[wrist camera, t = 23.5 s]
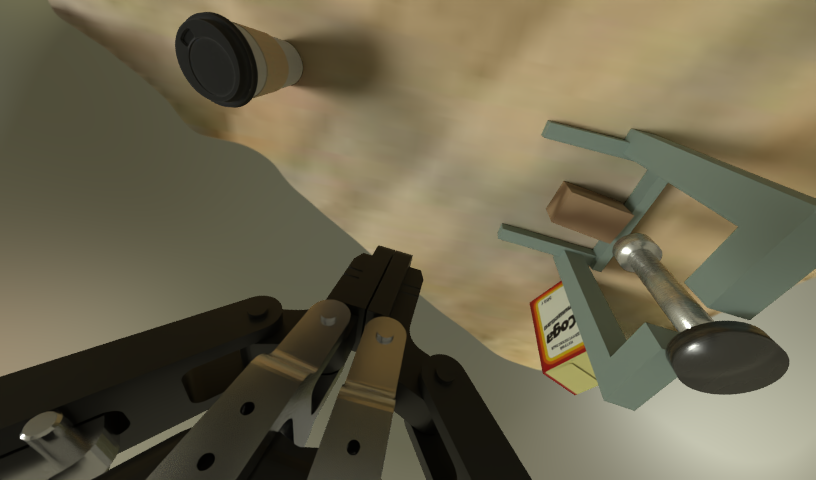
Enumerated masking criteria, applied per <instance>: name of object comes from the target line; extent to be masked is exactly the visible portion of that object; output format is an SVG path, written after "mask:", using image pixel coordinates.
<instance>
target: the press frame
mask: <svg viewBox="0 0 816 480" xmlns="http://www.w3.org/2000/svg"><path fill="white" fill-rule="evenodd" d="M542 136H543V137H544V138H547V139H551V140H555V141H559V142H562V143H566V144H570V145H574V146H578V147H582V148H585V149H589V150H593V151H597V152H601V153H604V154H608V155H612V156H616V157H620V158H624V159H627V160H631V161H635V162H637V163H638V164H640V165H641V166H643V167H644V168H646V169H648V170H647V172H646V173H645V175H644V176H643V178H642V179H641V180H640V182H639V183H638V185H637V186H636V188H635V189H634V191H633V192H632V194H631V195H630V196H629V198H628V199H627V201H626V202H625V204H624V206H625V207H626V208H627V209H628V210H629V211H630V212H631V213H632V214H633V215H634V217H633V218H632V219H631V220H630V221H629V223H628V224H627V225H626V226H625V227H624V228H623V230H622V231H621V232H620V233H619V234H618V235H617V237H616V238H615V239H614V240H613V241H612V242H611V244H609V243H606V242H603V241H601V240H599V241H598V243H597V244H596V246H595V247H594V249H593V250H592V249H589V248H585V247H582V246H578V245H575V244H572V243H568V242H565V241H561V240H558V239H554V238H551V237H548V236H544V235H541V234H537V233H534V232H530V231H527V230H523V229H520V228H517V227H513V226H510V225H506V224H503V223H502V224H501V227H500V229H499V231H498V239H501V240H505V241H508V242H511V243H515V244H518V245H522V246H525V247H528V248H532V249H535V250H538V251H542V252H545V253H549V254H552V255H554V257H553V258H554V261H555V264H556V267H557V269H558V272H559V275H560V278H561V281H562V284H563V286H564V289H565V292H566V295H567V298H568V301H569V303H570V306H571V309H572V312H573V315H574V317H575V320H576V323H577V326H578V329H579V332H580V334H581V337H582V340H583V343H584V346H585V349H586V351H587V354H588V357H589V360H590V363H591V365H592V368H593V371H594V374H595V377H596V380H597V382H598V385H599V388H600V391H601V393H602V397H603V399H604V401H607V402H610V403H613V404H616V405H619V406H622V407H625V408H628V409H631V410H634V411H635V410H636V409H637V408H639V407H640V406H641V405H643V404H644V403H645V402H646V401H648V400H649V399H650V398H651V397H652V396H654V395H655V394H656V393H658V392H659V391H660V390H661V389H663V388H664V387H665V386H667V385H668V384H669V383H671V382H672V381H673V380H674V379H676V378H677V375H676V374H675V372H674V370H673V369H672V367H671V366H670V364H669V362H668V361H667V359H666V355H665V351H666V347H667V345H668V343H669V342H670V341H671V340H672V339H673V338H674V337H675V336H676V335H677V334H679V332H676V331H672V330H669V329H666V328H663V327H659V326H656V325H653V324H650V323H646V322H645V323H644V324H643V325H642V326H641V327H640V328H639V329H638V330H637V331H636V332H635V333H634V334H633V335H632V336H631V337H630V338H629V339H628V340H626V338H625V336H624V334H623V332H622V330H621V329H620V327H619V325H618V323H617V321H616V319H615V317H614V315H613V313H612V311H611V309H610V307H609V305H608V303H607V301H606V299H605V297H604V296H603V294H602V292H601V290H600V288H599V286H598V284H597V282H596V280H595V278H594V276H593V274H592V272H591V270H590V268H589V266H590V267H591V269H593V270H596V271H599V272H602V270H603V269H604V268H605V266H606V265H607V264H608V262H609V261H610V260H611V258H612V257H613V256H614V255H613V253H612V249H613V246H614V244H615V243H616V241H617V240H619V239H620V238H622V237H623V236H626V235H628V234H630V233H631V231H632V230H633V229H634V227H635V226H636V225H637V223H638V222H639V221H640V219H641V218H642V217H643V215H644V214H645V213H646V211H647V210H648V209H649V207H650V206H651V205H652V203H653V202H654V201H655V199H656V198H657V197H658V195H659V194H660V193H661V191H662V190H663V189H664V187H665V186H666V185H667V183H670V184H671V185H673V186H675V187H676V188H678V189H679V190H681V191H683V192H684V193H686V194H687V195H689V196H690V197H692V198H694V199H695V200H697V201H698V202H700V203H702V204H703V205H705V206H706V207H708V208H710V209H711V210H713V211H714V212H716V213H717V214H719V215H721V216H722V217H724V218H725V219H727V220H729V221H730V222H732V223H733V224H735V225H737V226H738V228H737V229H736V230H735V231H734V232H733V233H732V234H731V235H730V236H729V237H728V238H727V239H726V240H725V241H724V242H723V243H722V244H721V245H720V246H719V247H718V248H717V249H716V250H715V251H714V252H713V253H712V254H711V255H710V257H709V258H708V259H707V260H706V261H705V262H704V263H703V264H702V265H701V266H700V267H699V268H698V269H697V270H696V271H695V272H694V273H693V274H692V275H691V276H690V277H689V278H688V279H687V280H686V281H685V282H684V283H685V284H686V285H687V286H688V287H689V288H690V289H691V290H692V292H693V293H694V294H695V295H696V296H697V297H698V298H699V299H700V300H701V301H702V302H703V303H704V305H705V306H706V307H707V308H710V309H714V310H717V311H721V312H724V313H727V314H731V315H734V316H737V317H741V318H744V319H747V320H751V319H752V318H753V317H754V316H756V315H757V314H758V313H760V312H761V311H762V310H763V309H765V308H766V307H767V306H768V305H770V304H771V303H772V302H774V301H775V300H776V299H777V298H779V297H780V296H781V295H782V294H784V293H785V292H786V291H788V290H789V289H790V288H791V287H793V286H794V285H795V284H796V283H798V282H799V281H800V280H802V279H803V278H804V277H805V276H807V275H808V274H809V273H810V272H812V271H813V270H814V269H816V199H815V198H813V197H810V196H808V195H805V194H803V193H800V192H798V191H795V190H793V189H790V188H788V187H785V186H783V185H780V184H778V183H775V182H773V181H770V180H768V179H765V178H763V177H760V176H758V175H755V174H753V173H750V172H747V171H745V170H742V169H740V168H737V167H735V166H732V165H730V164H727V163H725V162H722V161H720V160H717V159H715V158H712V157H710V156H707V155H705V154H702V153H700V152H697V151H695V150H692V149H690V148H687V147H685V146H682V145H680V144H677V143H674V142H672V141H669V140H667V139H664V138H662V137H659V136H657V135H654V134H651V133H647V132H643V131H639V130H635V129H631V130H630V131H629V133H628V134H627V136H626V138H625V139H624V140H623V139H619V138H615V137H611V136H607V135H603V134H600V133H596V132H592V131H588V130H584V129H580V128H576V127H572V126H568V125H564V124H560V123H557V122H553V121H549V120H548V121H547V123H546V126H545V128H544V130H543V132H542ZM588 265H589V266H588Z"/></svg>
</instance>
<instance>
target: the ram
mask: <svg viewBox="0 0 816 480" xmlns="http://www.w3.org/2000/svg"><path fill="white" fill-rule="evenodd" d="M612 253H613V255H614V257H615V258H616V260H617V261H618V263H619V264H620V266H621V267H622V268H623V269H624V270H626V271H629V272H635V273H636V274H637V275H638V277H639V278H640V280H641V281H642V282H643V284H644V285H645V286H646V288H647V289H648V291H649V292H650V293H651V295H652V296H653V297H654V299H655V300H656V302H657V303H658V304H659V306H660V307H661V308H662V310H663V311H664V313H665V314H666V315H667V317H668V318H669V319H670V321H671V322H672V323H673V325H674V326H675V328H676V329H677V330H678V332H679V334H677V335H676V336H675V337H674V338H673V339H672V340H671V341H670V342H669V343H668V345H667V347H666V351H665V355H666V359H667V361H668V362H669V364H670V366H671V367H672V369H673V370H674V372H675V374H676V375H677V377H678V378H679V380H680V381H681V382H682V383H684V384H685V385H686V386H688V387H690V388H692V389H694V390H697V391H700V392H705V393H710V394H740V393H746V392H751V391H754V390H758V389H761V388H764V387H766V386H768V385H770V384H772V383H774V382H776V381H777V380H778V379H780V378H781V377H782V376H783V375H784V374H785V373H786V371H787V369H788V367H789V358H788V355H787V354H786V352H785V351H784V350H783V349H782V348H781V347H780V346H779V345H778V344H776V343H775V342H774V341H773V340H772V339H771V338H770V337H769V336H768V335H767V334H766V333H765V332H764V331H763V330H761V329H760V328H758V327H756V326H753V325H751V324H747V323H743V322H737V321H715V322H714V321H713V320H712V318H711V317H710V316H709V315H708V314H707V313H706V312H705V311H704V309H703V308H702V307H701V306H700V305H699V304H698V303H697V302H696V301H695V299H694V298H693V297H692V296H691V295H690V294H689V293H688V292H687V291H686V289H685V288H684V287H683V286H682V285H681V284H680V283H679V282H678V281H677V279H676V278H675V277H674V276H673V275H672V274H671V273H670V272H669V271H668V269H667V268H666V267H665V266H664V265H663V264H662V263H661V262H660V260H661V258H662V251H661V249H660V248H659V247H658V245H657V244H656V243H655V242H654V241H653V240H652V239H651V238H650V237H648V236H647V235H645V234H640V233H633V234H628V235H626V236H623V237H622V238H620V239H619V240H617V241H616V243H615V244H614V246H613V249H612Z"/></svg>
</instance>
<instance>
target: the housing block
mask: <svg viewBox="0 0 816 480" xmlns="http://www.w3.org/2000/svg"><path fill="white" fill-rule="evenodd" d="M546 210H547V212H548V215H549V217H550V219H551V222H553V223H555V224H558V225H561V226H563V227H566V228H569V229H571V230H574V231H577V232H579V233H582V234H585V235H587V236H590V237H593V238H595V239H598V240H601V241H603V242H606V243H609V244H611V242H612V241H613V240H614V239H615V238H616V237H617V235H618V234H619V233H620V232H621V231H622V230H623V228H624V227H625V226H626V225H627V224H628V223H629V221H630V220H631V219H632V218H633V217H634V215H633V214H632V213H631V212H630V211H629V210H628V209H627V208H626V207H625V206H624V205H623V204H622V203H621V202H620V201H617V200H614V199H611V198H609V197H606V196H603V195H601V194H598V193H595V192H593V191H590V190H587V189H584V188H582V187H579V186H576V185H574V184H571V183H568V182H565V181H564V182H563V183H562V185H561V186H560V188H559V189H558V191H557V192H556V194H555V196H554V197H553V199H552V200H551V202H550V203H549V205H548V206H547V208H546Z"/></svg>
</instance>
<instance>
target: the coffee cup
mask: <svg viewBox="0 0 816 480" xmlns="http://www.w3.org/2000/svg"><path fill="white" fill-rule="evenodd" d="M175 49H176V55H177V59H178V63H179V65H180V68H181V70H182V72H183V74H184V76H185V77H186V79H187V80H188V82H189V83H190V84H191V86H192V87H193V88H194V89H195V90H196V91H197V92H198V93H200V94H201V95H202V96H204V97H205V98H207V99H209V100H211V101H212V102H214V103H216V104H218V105H221V106H225V107H234V108H236V107H241V106H244V105H246V104H247V103H248V102H249V101H250V100H251V99H252V98H255V97H259V96H262V95H265V94H268V93H272V92H275V91H277V90H279V89H281V88H284V87H287V86H290V85H293V84H295V83H296V82H297V81H298V80H299V79H300V77H301V75H302V71H303V65H302V60H301V58H300V55H299V54H298V52H297V50H296V49H295V48H294V47H293V46H292V45H291V44H290V43H288V42H286V41H284V40H281V39H278V38H275V37H272V36H270V35H268V34H267V33H264V32H261V31H258V30H255V29H252V28H249V27H246V26H243V25H240V24H237V23H234V22H231V21H229V20H228V19H227V18H225V17H223V16H221V15H219V14H216V13H212V12H203V13H196V14H194V15H192V16H190V17H189V18H188V19H187V20H186V21H185V22H184V23H183V24H182V25H181V26H180V27H179V29H178V32H177V35H176V40H175Z"/></svg>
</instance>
